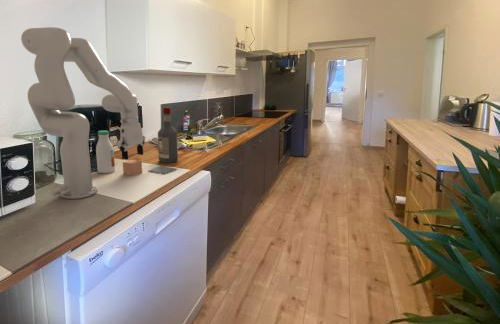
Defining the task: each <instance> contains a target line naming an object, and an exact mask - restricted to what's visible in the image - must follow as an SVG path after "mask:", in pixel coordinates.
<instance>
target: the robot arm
mask: <svg viewBox="0 0 500 324" xmlns="http://www.w3.org/2000/svg"><path fill="white" fill-rule="evenodd" d="M20 37H21V43H22V46H23V48H24V49H25V50H27V51H28V52H29V53H31V54H33V55H35V58H34V59H35V60H34V66H33V67H34V73H35V75H36V78H37V81H38V82H35V83H33V84H31V86H30V87H29V88H28V91H27V100H28V101H27V102H28V104H29V106H30V107H31V108H30V109H31V110H32V112H33V115H34V116H35V119H36V120H37V123H38V125H39V126H40V128H41V130H42V131H43V132H44V133H45V134H47V135H49V136H52V137H61V138H62V141H61V143H60V147H59V151H60V152H59V153H60V160H61V162H60V163H61V169H62V178H63V184H61V187H59V188H58V189H53V190H52V191H51V194H52V196H57V195H60V197H61V198H63V199H67V200H69V199H71V200H75V199H84V198H88V197H91V196H93V195H95V194H97V192H98V187H96V186H94V185H93V177H92V168H91V158H90V157H91V156H90V147H89V146H90V145H89V136H90V128H91V127H90V126H91V125H90V122H89V119H88V117H86V116H85V115H84V114H82V113H79V112H73V111H70V110H71V109H73V108H74V107H75V105H76V98H75V97H76V96H75V95H74V92H73V89H72V86H71V84H70V82H69V79H68V75H67V74H66V71H65V70H66V69H65V63H66V62H67V63H70V62H72V63H75V65H76V66H77V67H78V68H79V69H80V71H81V73H82V74H83V75H84V77H85V79H86V80H87V81H88V82H89V83H90V84H92V85H93V86H95V87H97V88H101V89H102V90H105V91H108V92H109V93H111V94H107V95H104V97H102V99H101V106H102V109H104V110H105V111H108V112H111V113H120V121H119V122H120V123H121V125H120V131H119V133H120V134H119V135H120V136H119V137H120V138H119V140H118V141H117V142H116V143H115V144H116V146H117V148H118V149H119V150H120V152H121V159H122V160H129V152H128V148H129V147H130V148H131V147H134V146H136V152H137V155H141V156H143V155H144V147H145V146H144V144H145V142H146V136H145V135H143V129H142V126H141V123H140V122H139V121H140V120H139V110H138V98H137V97H138V96H137V95H136V94H133V93H132V92H131V90H130V89H129V87H128V86H127V84H125V83H124V82H123V81H122V80H120V79H119V78H118V77H116V76H115V75H114V74H112V73H111V72H110V71H108V69H107V67H106V65H105V64H104V62H103V61H102V60H101V58H100V57H99V55H98V53H97V51H96V50H95V49H94V47H93V46H92V43H90V42H89V41H88V40H87V39H85V38H83V37H71V36H70V33H69V32H67V30H65V29H64V28H60V27H53V26H50V27H48V26H47V27H31V28H27V29H25V30H24V31H23V33H21V36H20ZM68 110H69V111H68Z"/></svg>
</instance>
